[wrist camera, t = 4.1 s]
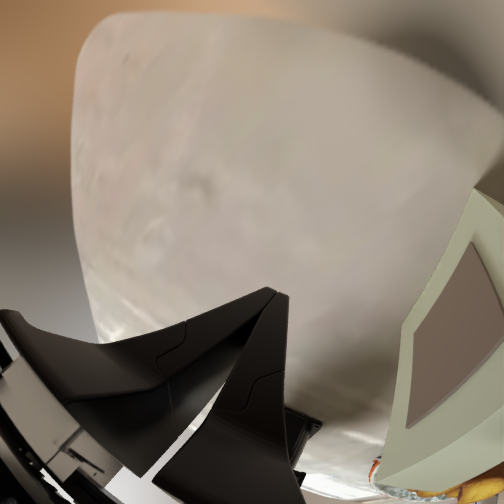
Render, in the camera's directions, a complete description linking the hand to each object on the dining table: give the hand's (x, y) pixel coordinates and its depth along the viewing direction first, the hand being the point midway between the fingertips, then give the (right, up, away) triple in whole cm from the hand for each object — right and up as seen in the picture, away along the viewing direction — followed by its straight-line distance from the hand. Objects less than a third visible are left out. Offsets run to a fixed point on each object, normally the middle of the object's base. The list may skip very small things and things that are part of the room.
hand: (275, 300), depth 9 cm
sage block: (+12, 0, +4) cm, 12 cm away
